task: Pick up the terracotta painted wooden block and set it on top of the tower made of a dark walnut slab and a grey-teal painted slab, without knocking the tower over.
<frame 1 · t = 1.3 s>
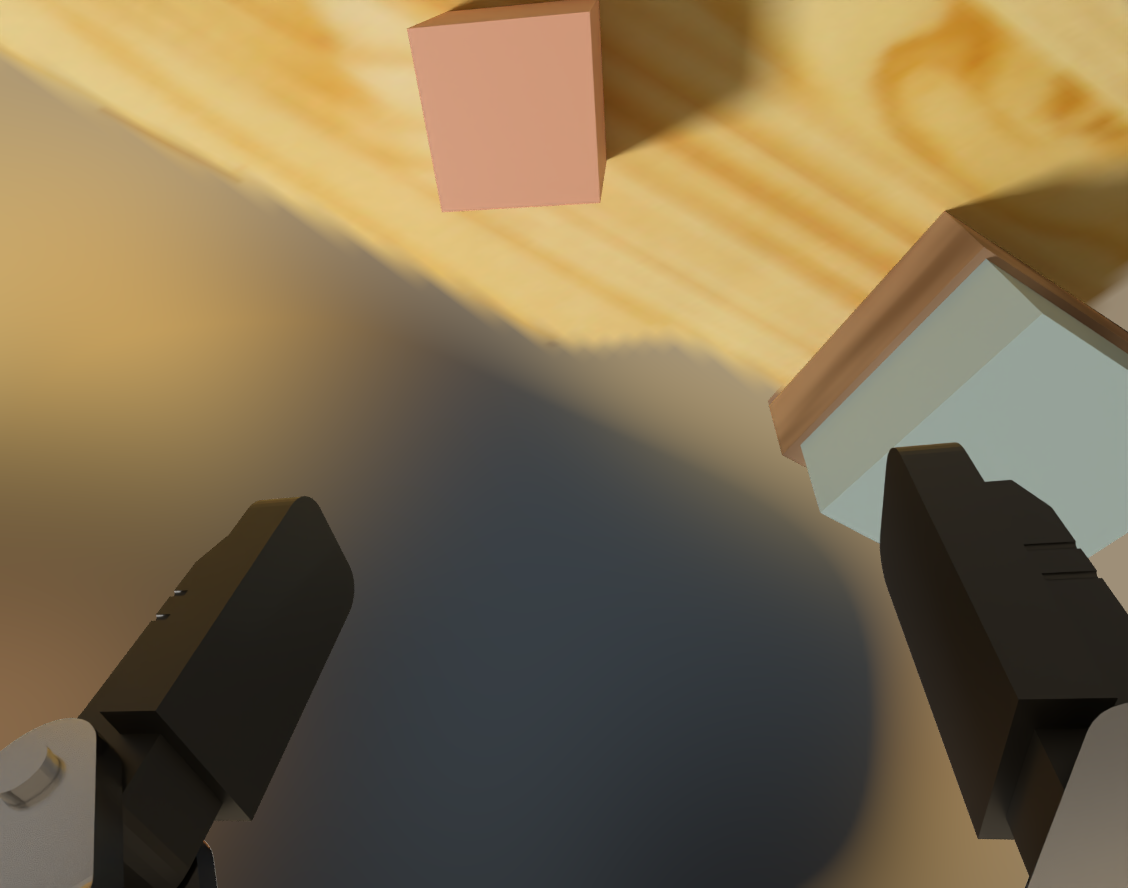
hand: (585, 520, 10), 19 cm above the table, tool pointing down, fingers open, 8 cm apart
terracotta block: (531, 88, 24), on the table
tower top block: (975, 416, 26), point 4 cm above the table, touching tower base block
tower base block: (938, 368, 29), on the table, touching tower top block
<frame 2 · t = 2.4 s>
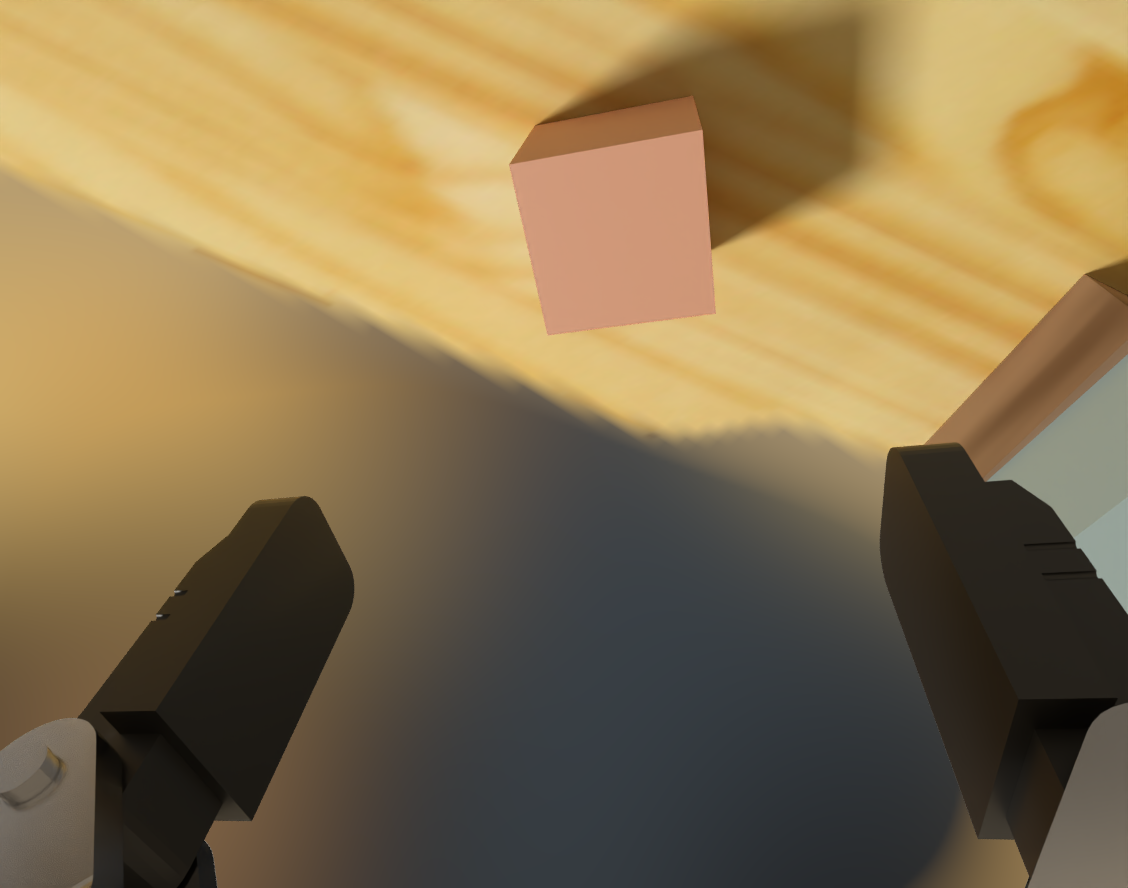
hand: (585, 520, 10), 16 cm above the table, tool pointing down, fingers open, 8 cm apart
terracotta block: (623, 191, 23), on the table
tower base block: (1078, 433, 27), on the table, touching tower top block
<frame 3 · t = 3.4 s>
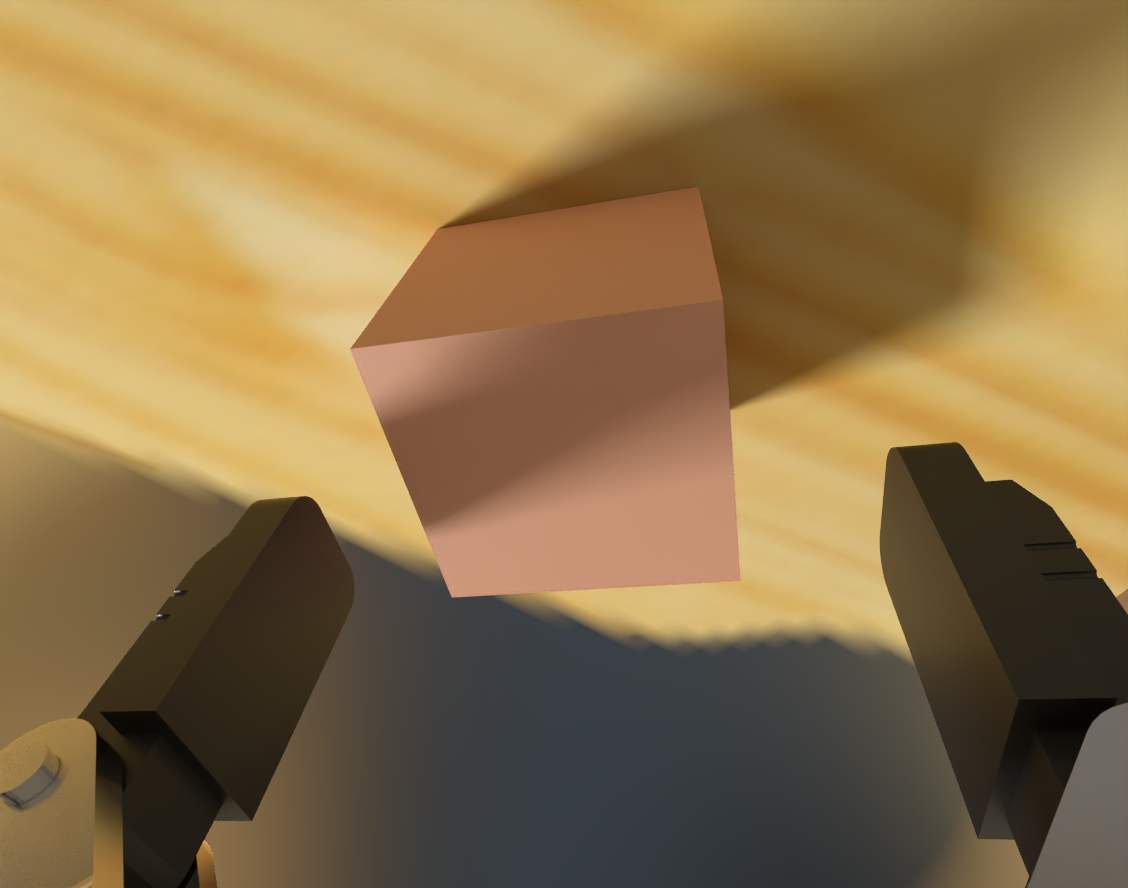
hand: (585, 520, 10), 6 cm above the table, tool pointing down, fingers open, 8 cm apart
terracotta block: (586, 326, 14), on the table
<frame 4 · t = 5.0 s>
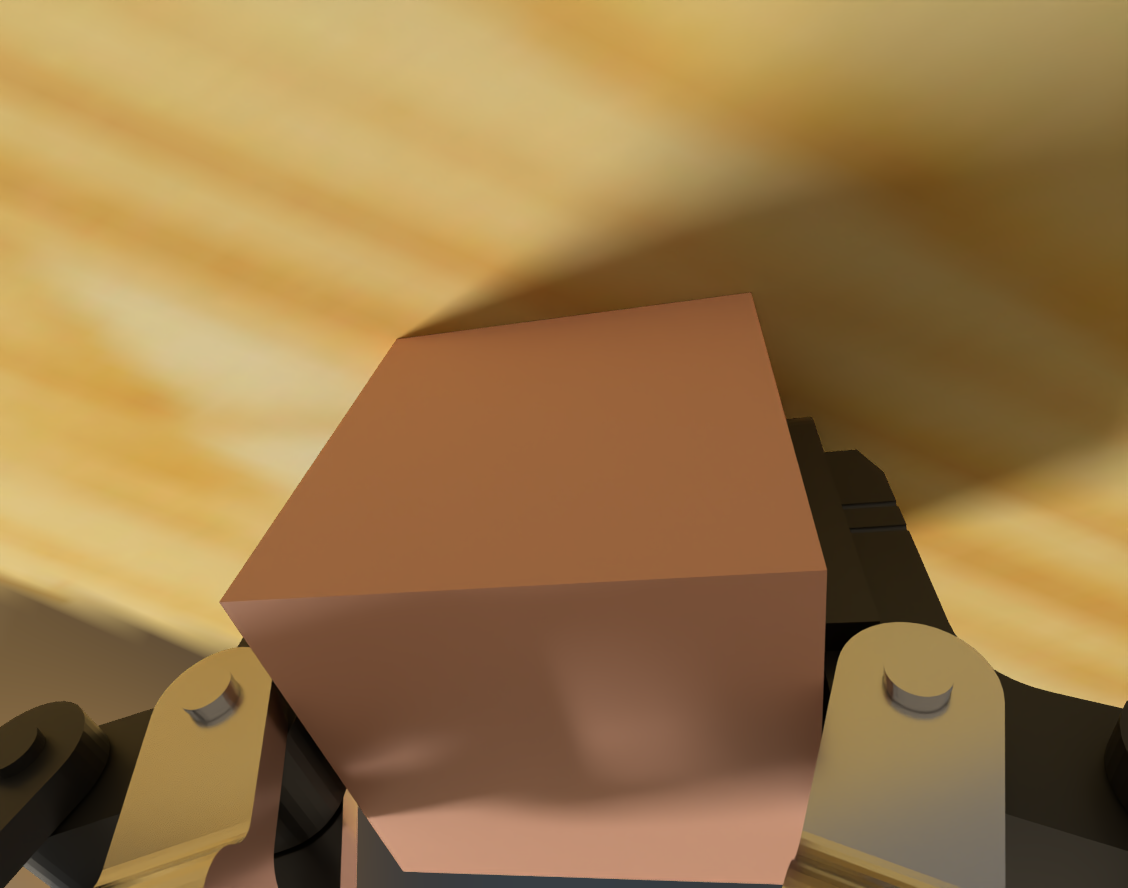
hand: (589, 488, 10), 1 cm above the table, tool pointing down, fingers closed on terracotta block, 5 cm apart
terracotta block: (594, 461, 11), on the table, touching gripper
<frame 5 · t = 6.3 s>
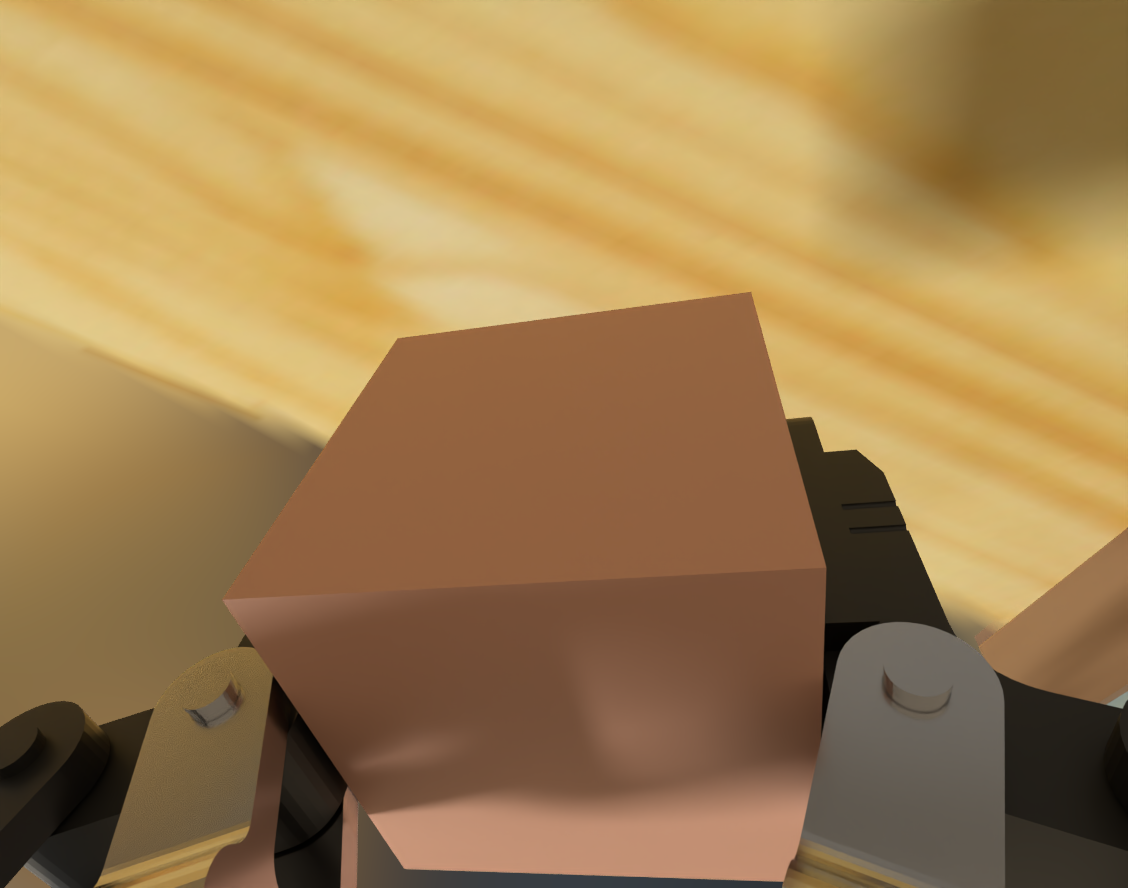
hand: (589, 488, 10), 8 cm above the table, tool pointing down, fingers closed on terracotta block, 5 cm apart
terracotta block: (594, 460, 11), point 7 cm above the table, touching gripper
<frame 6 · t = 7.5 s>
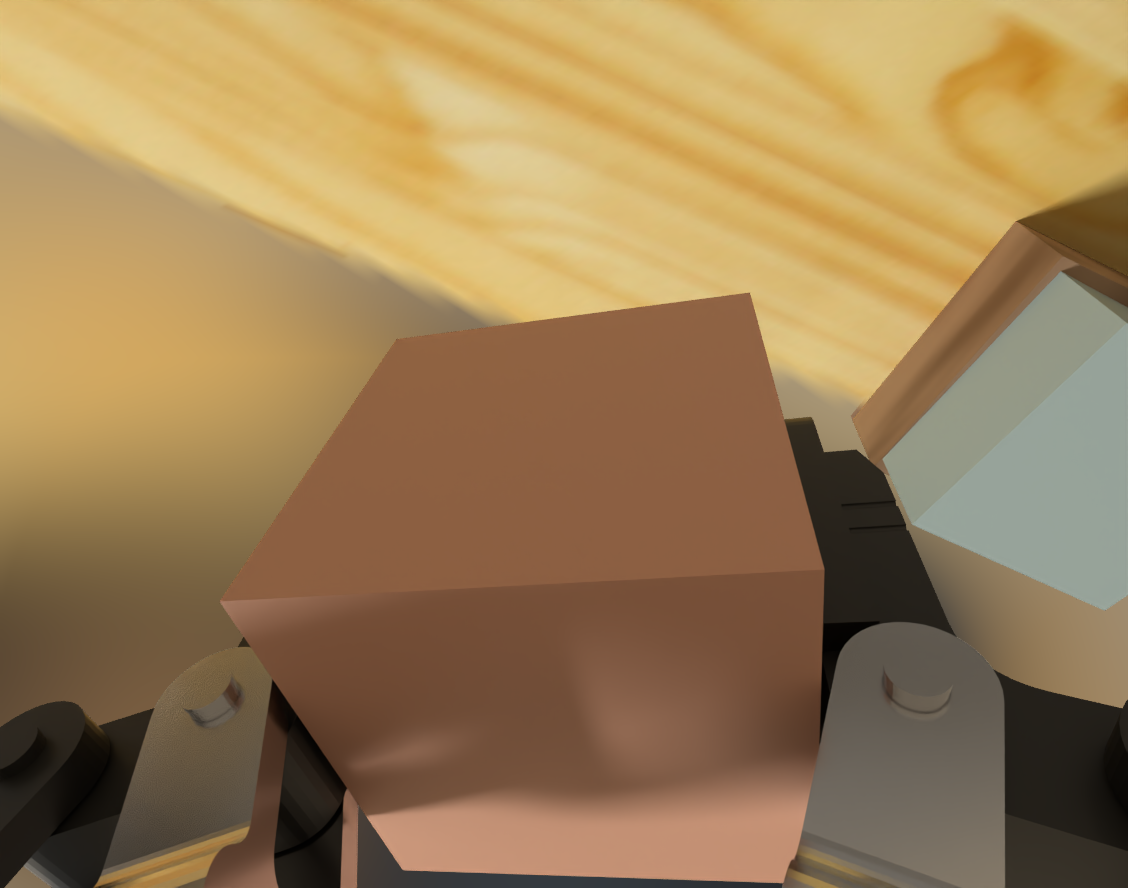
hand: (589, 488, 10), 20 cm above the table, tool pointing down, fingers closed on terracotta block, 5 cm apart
terracotta block: (593, 461, 11), point 19 cm above the table, touching gripper
tower top block: (1057, 421, 26), point 4 cm above the table
tower base block: (1021, 371, 30), on the table
when the fingers open (10 cm above the table, at t = 10.9 s): terracotta block drops 2 cm, resting on tower top block.
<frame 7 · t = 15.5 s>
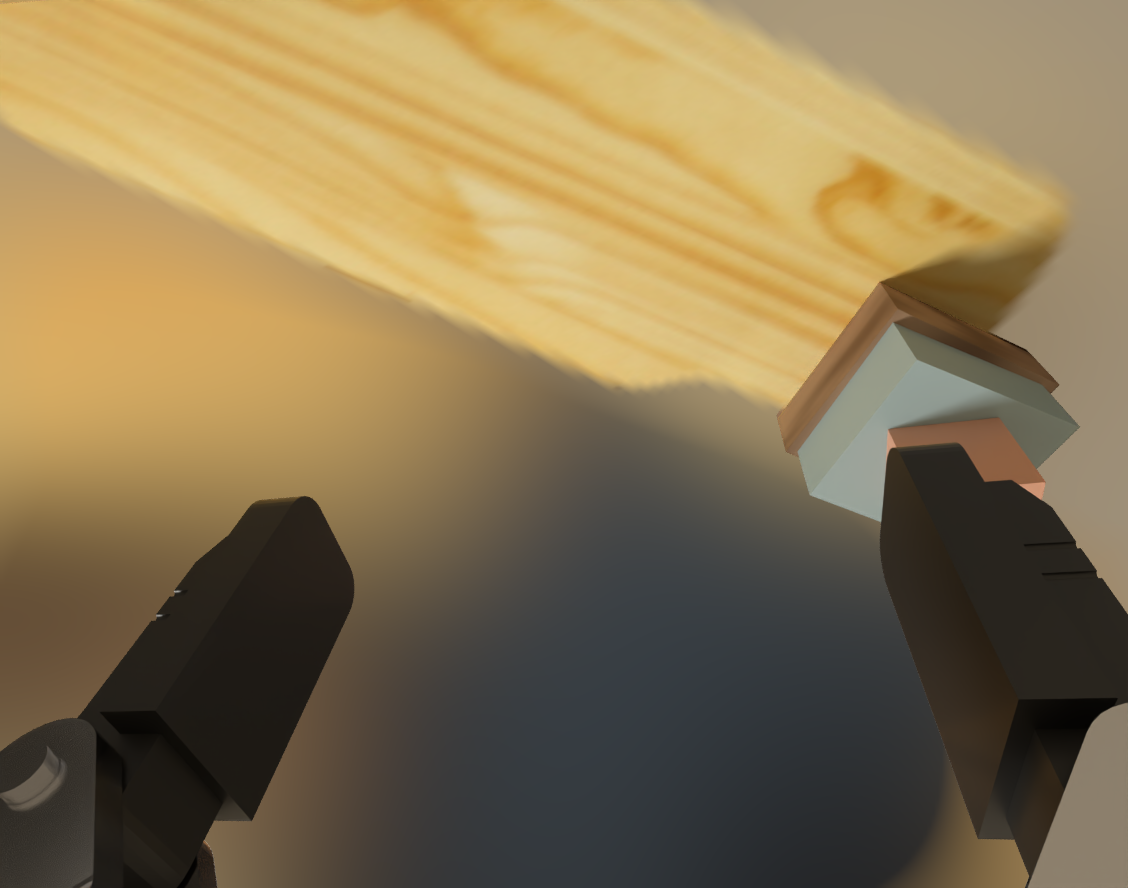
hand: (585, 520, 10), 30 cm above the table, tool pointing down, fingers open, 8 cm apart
terracotta block: (938, 463, 35), point 8 cm above the table, touching tower top block
tower top block: (913, 419, 38), point 4 cm above the table, touching terracotta block, tower base block
tower base block: (894, 383, 42), on the table, touching tower top block
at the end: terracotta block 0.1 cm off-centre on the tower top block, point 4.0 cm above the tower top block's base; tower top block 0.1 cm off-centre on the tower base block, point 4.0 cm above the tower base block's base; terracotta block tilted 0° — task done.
